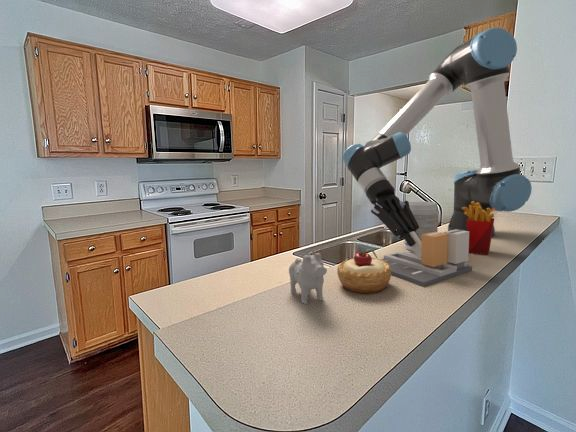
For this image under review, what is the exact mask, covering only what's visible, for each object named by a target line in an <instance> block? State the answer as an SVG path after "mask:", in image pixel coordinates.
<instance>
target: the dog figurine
mask: <svg viewBox="0 0 576 432" xmlns="http://www.w3.org/2000/svg"><path fill="white" fill-rule="evenodd" d="M327 271H328V269H327V268H326V267H325V266H324V262H323V260H322V255H321V253H320V252H316V253H315V254H311V255H307V254H306V255H304V256H303V257H302V258H299V257H298V258H297V257H296V259H295V260H294V262H292V263H291V264H290V265H289V267H288V274H289V278H290V280H289V281H290V293H291V292H296V291H297V289H296V285H297V284H298V286H299V289H300V290H301V291H300V292H301V294H300V297H301V299H300V301H301V302H302V303H304V304H303V305H307V304H309V303H308V299H309V294H310V291H312V290H315V292H316V300H317V299H318V301H320V300H322V301H324V300H323V299H324V296H323V294H324V293H323V287H324V286H323V285H324V283H325V282H324V278H325V277H324V276H325V275H326V274H327ZM296 293H297V292H296ZM301 302H300V303H301ZM302 303H301V304H302ZM305 303H306V304H305Z"/></svg>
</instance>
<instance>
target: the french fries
mask: <svg viewBox="0 0 576 432" xmlns="http://www.w3.org/2000/svg"><path fill="white" fill-rule="evenodd" d="M471 204H472V205H473V206H472V205H469V209H468V208H467V207H462V210H464V211H465V212H464V214H465V215H467V216H468V217H469V219H468V220H467V231H469V251H468V254H474V255H482V256H483V255H485V256H489V253H490V249H491V242H492V237H493V236H492V231H493V225H494V224H495V213H492V212H494V211H496V210H495V208H492V209H490V208H487V212H486V211H485V210H483V209H482V207H481V205H480V203H475V202H474V201H472V202H471ZM474 210H475V215H474ZM479 214H480V218H479Z"/></svg>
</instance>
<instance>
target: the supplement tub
mask: <svg viewBox="0 0 576 432" xmlns="http://www.w3.org/2000/svg"><path fill="white" fill-rule="evenodd" d="M408 202H409V207H410V209H411V211H412V213H413V215H414V217H415V219H416V221H417V223H418V225H419V228H418V229H417V230H416V233H417V234H418V236H419V237H420V238H421V240H422V234H427V233H431V232H439V231H438V229H439V228H438V226H439V225H438V222H439V221H438V217H439V216H438V215H439V213H438V203H437V202H434V201H408ZM404 247H405V249H407V250H408V251H410V252H412V250H413V249H412V248H411V247H410V246H409V245H408V244H407V242H406V241H405V240H404Z"/></svg>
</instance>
